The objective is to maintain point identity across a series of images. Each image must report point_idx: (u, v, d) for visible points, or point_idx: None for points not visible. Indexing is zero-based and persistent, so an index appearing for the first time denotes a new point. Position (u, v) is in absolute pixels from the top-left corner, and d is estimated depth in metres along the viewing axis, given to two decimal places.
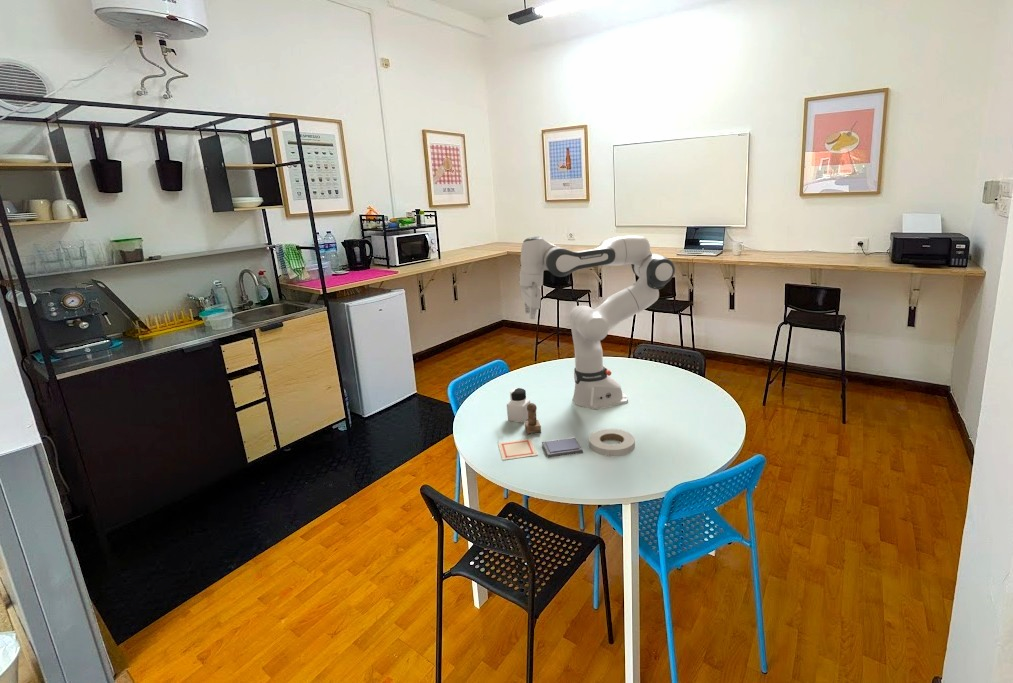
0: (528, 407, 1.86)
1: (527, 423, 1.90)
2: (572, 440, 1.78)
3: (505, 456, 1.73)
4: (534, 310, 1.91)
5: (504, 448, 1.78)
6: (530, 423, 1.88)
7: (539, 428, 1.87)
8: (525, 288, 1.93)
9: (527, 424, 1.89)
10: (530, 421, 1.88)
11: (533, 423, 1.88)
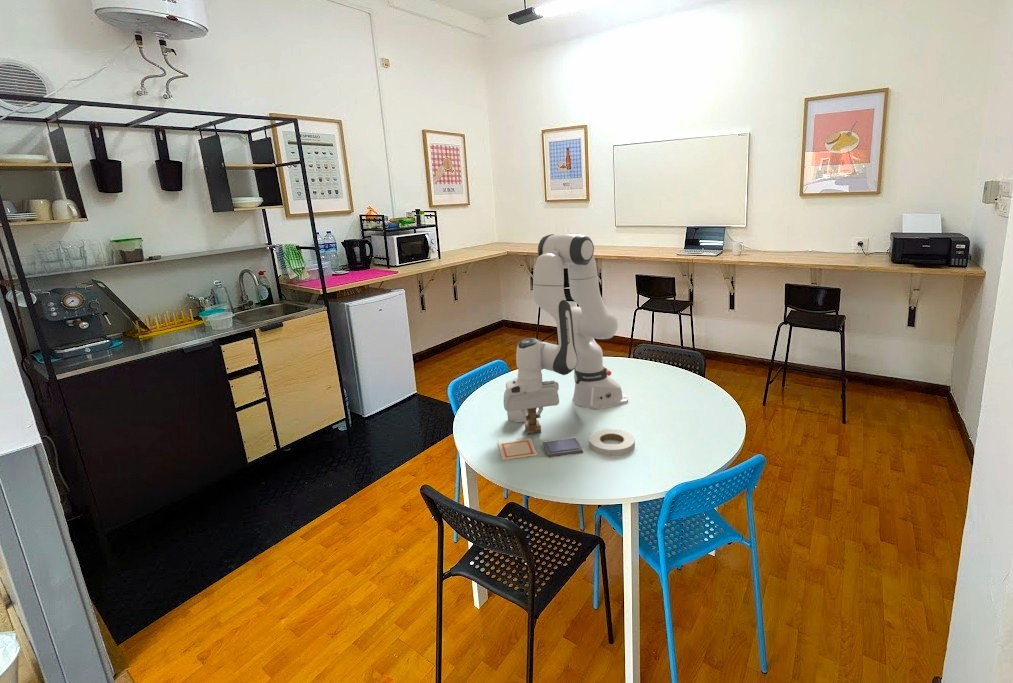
0: None
1: (527, 423, 1.90)
2: (572, 440, 1.78)
3: (505, 456, 1.73)
4: None
5: (504, 448, 1.78)
6: (530, 423, 1.88)
7: (539, 428, 1.87)
8: (537, 392, 1.83)
9: (527, 424, 1.89)
10: (530, 421, 1.88)
11: (533, 423, 1.88)
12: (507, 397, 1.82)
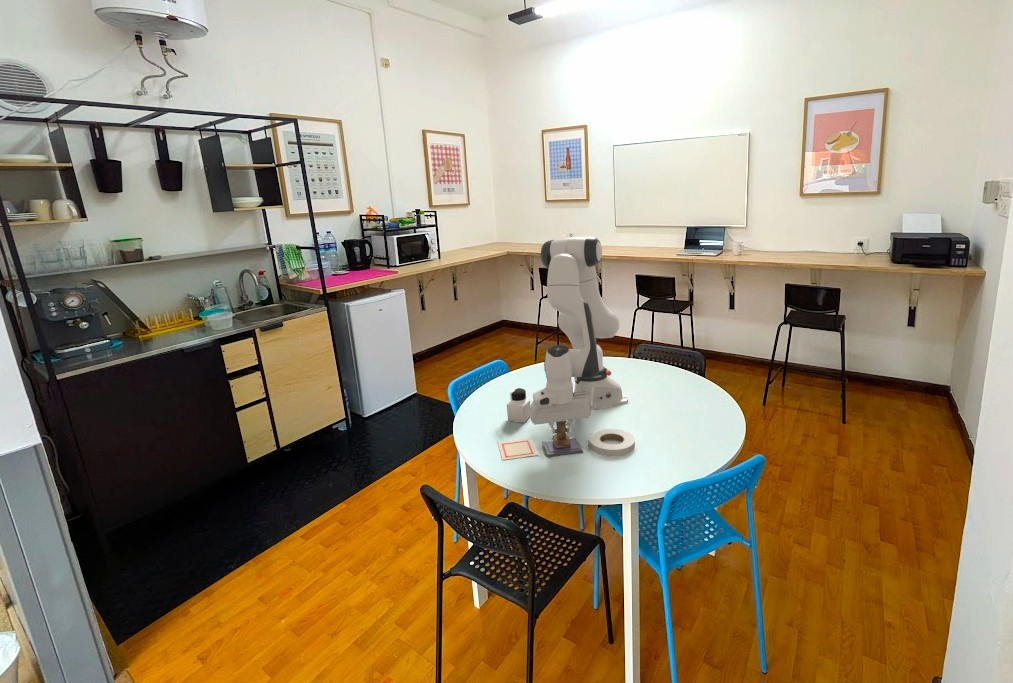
0: None
1: (555, 437, 1.75)
2: (572, 440, 1.78)
3: (505, 456, 1.73)
4: None
5: (504, 448, 1.78)
6: (559, 437, 1.73)
7: (569, 442, 1.73)
8: (567, 404, 1.69)
9: (555, 438, 1.74)
10: (559, 435, 1.73)
11: (562, 437, 1.73)
12: (535, 409, 1.67)
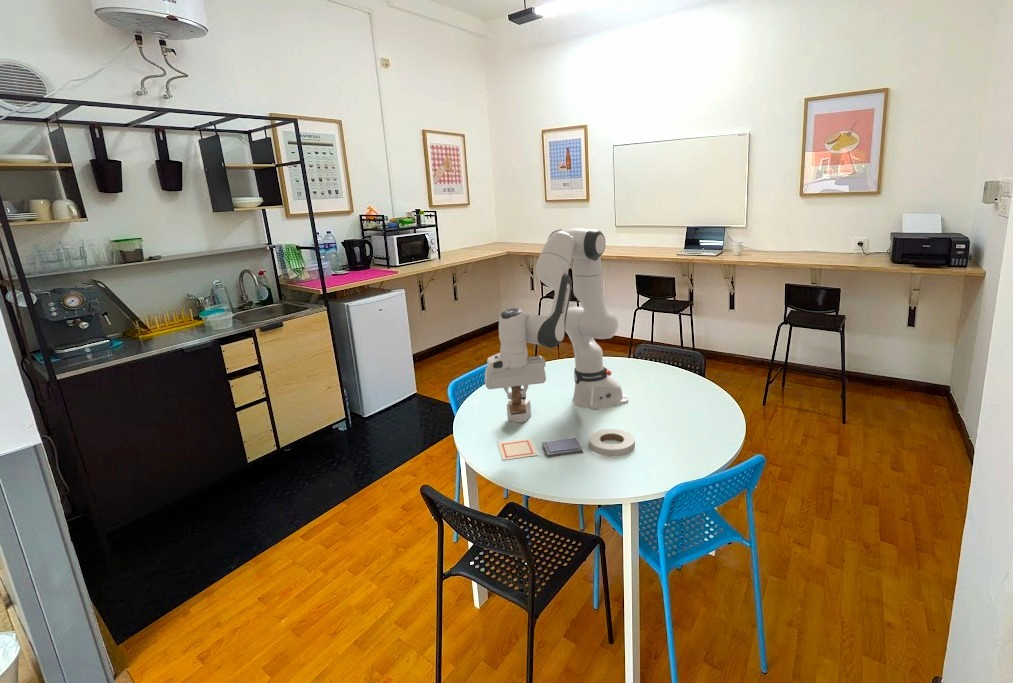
0: None
1: (511, 402, 1.73)
2: (572, 440, 1.78)
3: (505, 456, 1.73)
4: None
5: (504, 448, 1.78)
6: (514, 402, 1.71)
7: (524, 408, 1.70)
8: (521, 368, 1.66)
9: (511, 403, 1.72)
10: (514, 400, 1.71)
11: (517, 402, 1.71)
12: (488, 373, 1.65)
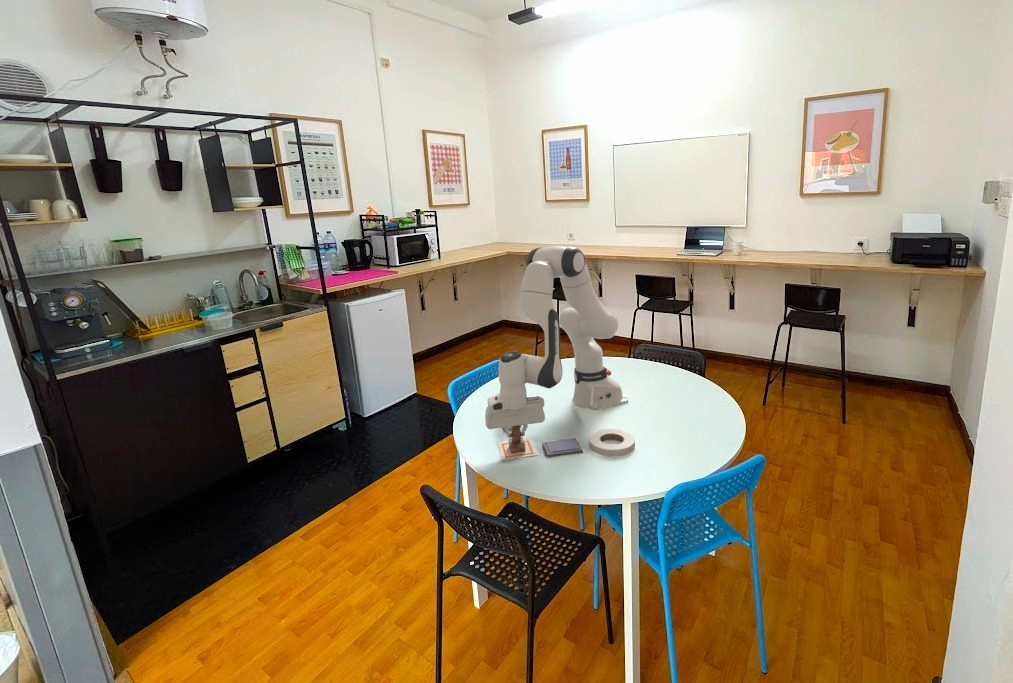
0: None
1: (511, 440, 1.77)
2: (572, 440, 1.78)
3: (505, 456, 1.73)
4: None
5: (504, 448, 1.78)
6: (514, 441, 1.75)
7: (523, 446, 1.75)
8: (520, 409, 1.71)
9: (511, 441, 1.76)
10: (514, 438, 1.75)
11: (517, 441, 1.75)
12: (489, 414, 1.70)
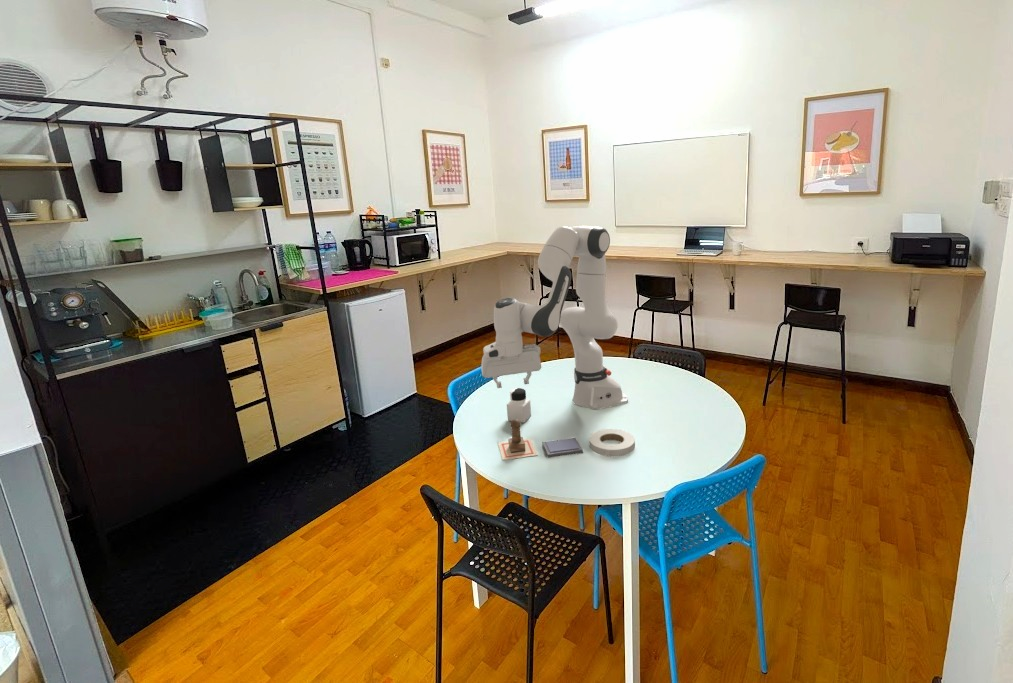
0: (511, 424, 1.74)
1: (511, 440, 1.77)
2: (572, 440, 1.78)
3: (505, 456, 1.73)
4: None
5: (504, 448, 1.78)
6: (514, 441, 1.75)
7: (523, 446, 1.75)
8: (516, 356, 1.69)
9: (511, 441, 1.76)
10: (514, 438, 1.75)
11: (517, 441, 1.75)
12: (484, 362, 1.68)
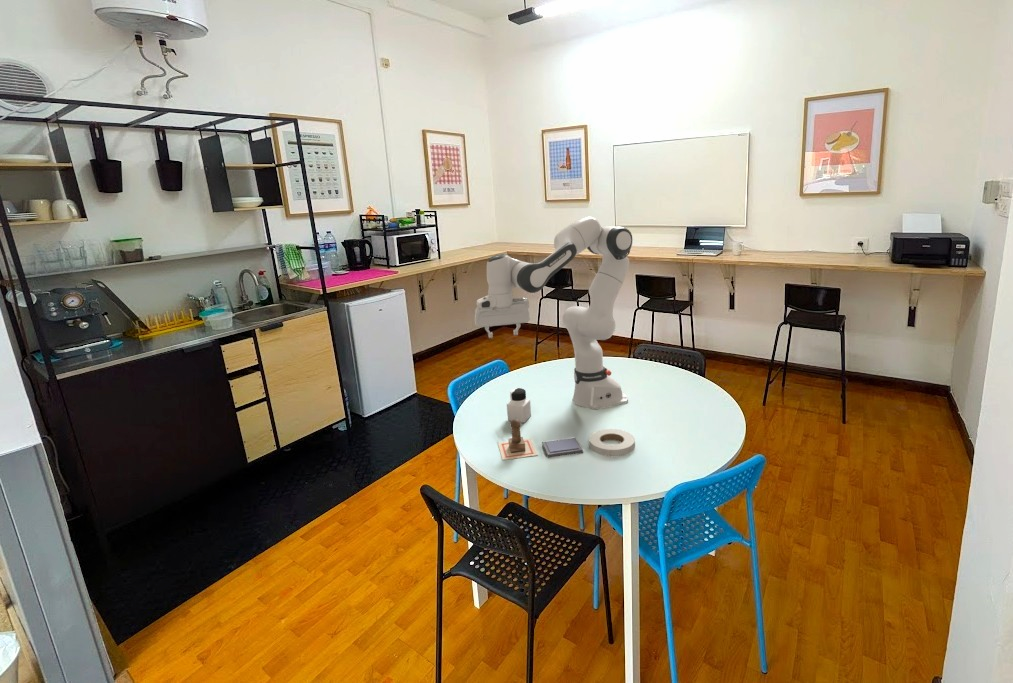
0: (511, 424, 1.74)
1: (511, 440, 1.77)
2: (572, 440, 1.78)
3: (505, 456, 1.73)
4: None
5: (504, 448, 1.78)
6: (514, 441, 1.75)
7: (523, 446, 1.75)
8: (507, 308, 1.85)
9: (511, 441, 1.76)
10: (514, 438, 1.75)
11: (517, 441, 1.75)
12: (477, 312, 1.84)
